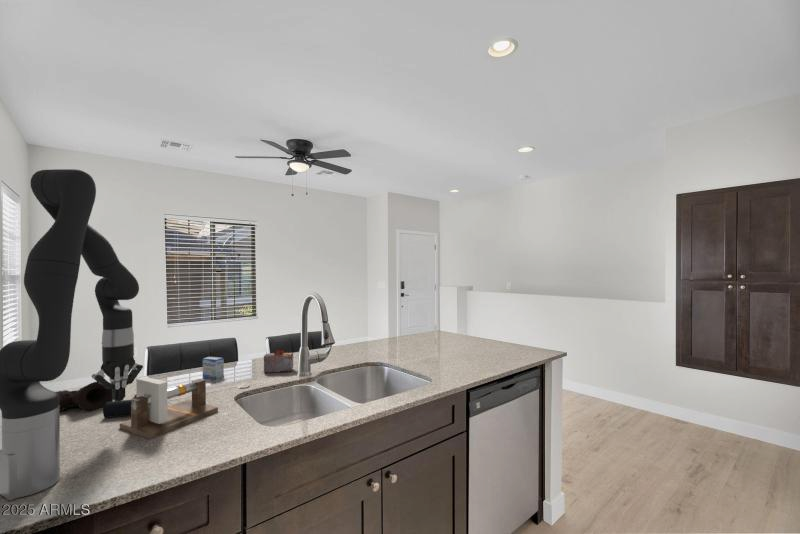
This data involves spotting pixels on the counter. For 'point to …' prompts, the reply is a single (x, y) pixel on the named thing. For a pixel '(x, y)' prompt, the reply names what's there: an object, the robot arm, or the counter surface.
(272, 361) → the food item
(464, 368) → the counter surface
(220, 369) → the medicine box
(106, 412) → the pipe connector
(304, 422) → the counter surface
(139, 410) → the pipe stand
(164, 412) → the white flat block
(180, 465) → the counter surface
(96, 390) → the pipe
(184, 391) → the steel pipe
